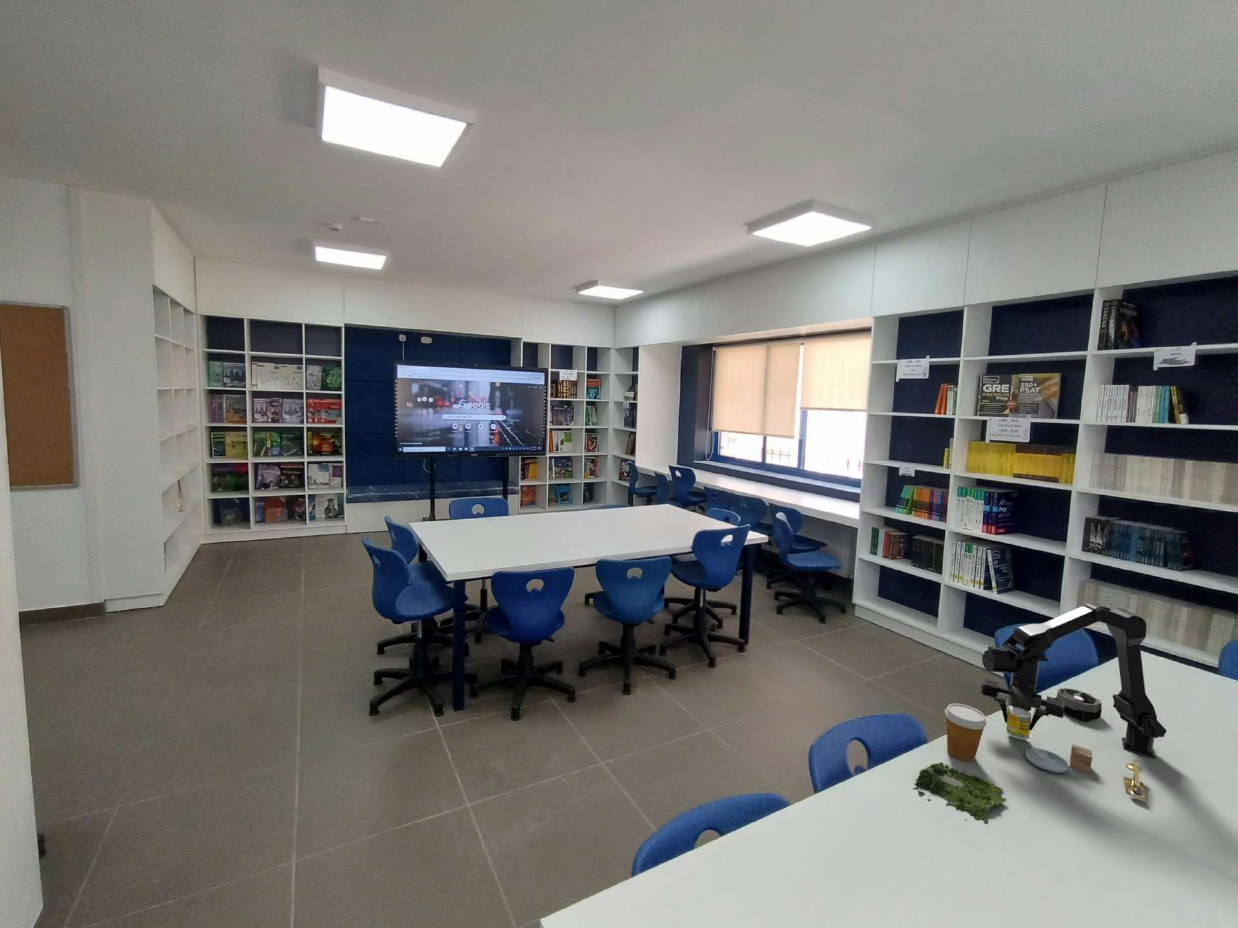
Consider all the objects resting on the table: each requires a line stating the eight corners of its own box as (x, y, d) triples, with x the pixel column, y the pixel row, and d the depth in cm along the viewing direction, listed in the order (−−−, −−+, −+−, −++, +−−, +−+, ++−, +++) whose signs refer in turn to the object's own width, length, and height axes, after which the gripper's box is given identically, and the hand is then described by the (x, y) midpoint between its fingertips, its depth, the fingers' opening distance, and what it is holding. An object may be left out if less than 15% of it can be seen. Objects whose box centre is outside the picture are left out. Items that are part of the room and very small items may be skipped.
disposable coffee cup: (988, 768, 145) (993, 724, 144) (947, 762, 147) (953, 719, 146) (973, 746, 154) (978, 705, 153) (935, 741, 156) (940, 700, 155)
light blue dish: (1025, 748, 154) (1026, 743, 154) (1067, 762, 149) (1068, 757, 149) (1023, 764, 147) (1024, 759, 147) (1067, 779, 142) (1068, 774, 142)
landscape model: (901, 794, 137) (901, 774, 137) (947, 768, 148) (947, 749, 148) (974, 834, 123) (974, 811, 123) (1019, 801, 134) (1019, 780, 134)
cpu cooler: (1050, 690, 177) (1069, 684, 181) (1048, 707, 178) (1067, 701, 182) (1089, 707, 168) (1107, 701, 172) (1086, 725, 168) (1105, 718, 173)
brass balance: (1122, 772, 146) (1125, 753, 145) (1141, 778, 144) (1144, 759, 143) (1126, 798, 136) (1129, 778, 135) (1146, 805, 134) (1150, 785, 133)
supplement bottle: (1016, 728, 162) (1019, 696, 161) (1033, 738, 157) (1037, 706, 156) (1001, 730, 161) (1004, 698, 160) (1018, 741, 156) (1021, 708, 155)
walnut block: (1069, 759, 151) (1072, 743, 150) (1089, 766, 148) (1091, 750, 148) (1069, 766, 147) (1072, 750, 147) (1089, 773, 145) (1092, 757, 145)
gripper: (982, 672, 157) (975, 725, 159) (1067, 696, 145) (1059, 752, 147) (986, 659, 165) (980, 709, 167) (1067, 680, 154) (1059, 734, 156)
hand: (1018, 725), depth 159 cm, fingers closed on supplement bottle, 5 cm apart
